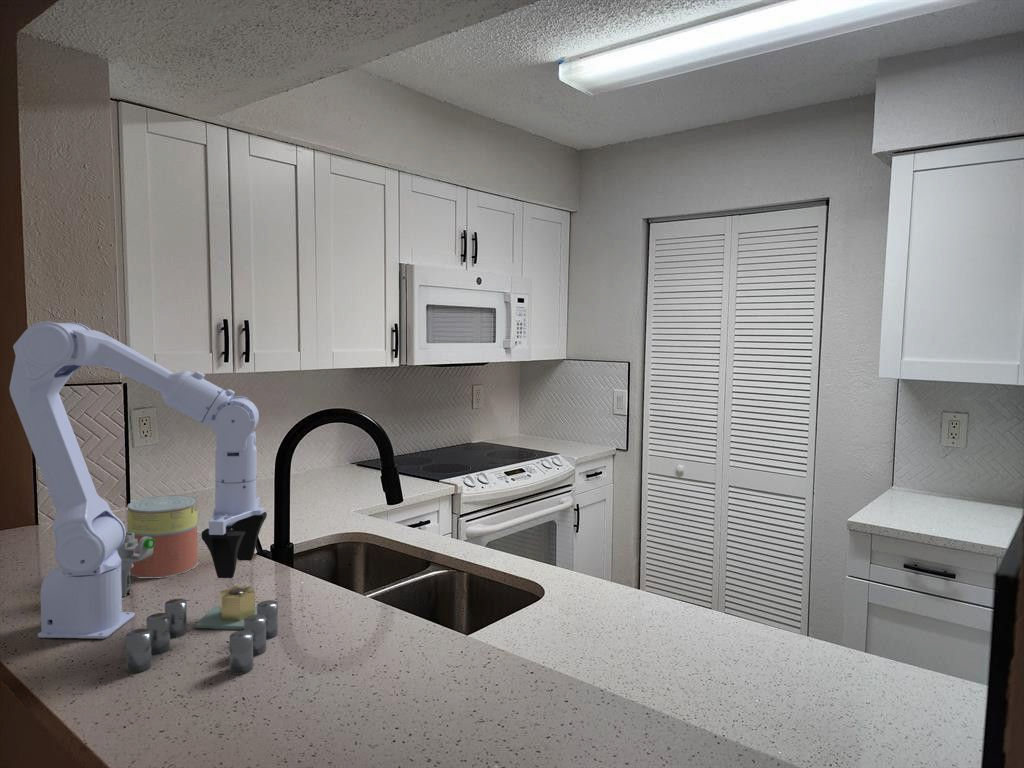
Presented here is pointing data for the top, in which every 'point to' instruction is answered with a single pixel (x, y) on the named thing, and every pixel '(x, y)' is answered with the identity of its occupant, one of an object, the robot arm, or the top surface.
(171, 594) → the top surface
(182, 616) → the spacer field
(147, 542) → the mechanical component
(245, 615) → the brass nut
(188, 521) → the canned food
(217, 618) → the green mat
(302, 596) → the top surface
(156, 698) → the top surface
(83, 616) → the robot arm
